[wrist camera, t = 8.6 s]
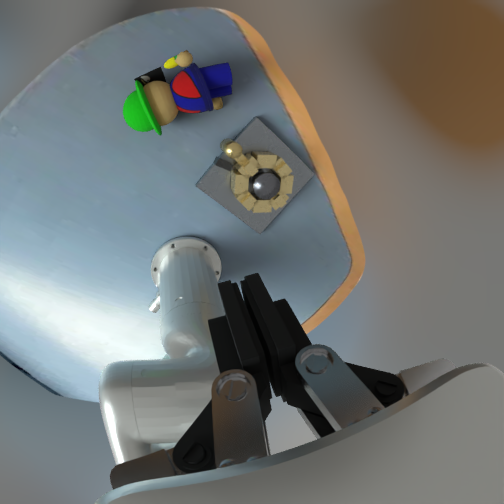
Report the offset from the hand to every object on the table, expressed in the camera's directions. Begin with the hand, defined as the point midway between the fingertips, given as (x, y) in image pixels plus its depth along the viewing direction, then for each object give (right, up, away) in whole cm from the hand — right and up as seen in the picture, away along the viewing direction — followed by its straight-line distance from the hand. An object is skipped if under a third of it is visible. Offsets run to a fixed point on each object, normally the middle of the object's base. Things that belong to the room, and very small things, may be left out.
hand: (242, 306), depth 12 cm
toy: (-11, +25, +24) cm, 37 cm away
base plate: (+1, +14, +34) cm, 37 cm away
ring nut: (0, +15, +32) cm, 35 cm away
